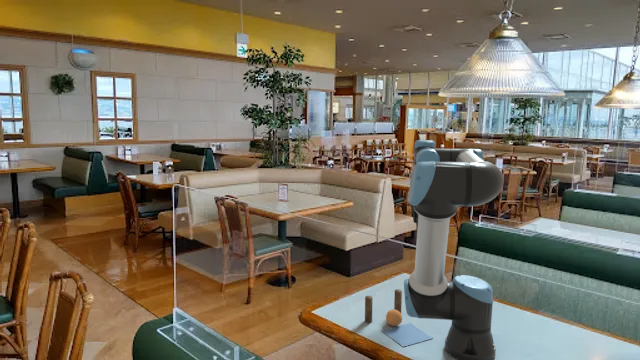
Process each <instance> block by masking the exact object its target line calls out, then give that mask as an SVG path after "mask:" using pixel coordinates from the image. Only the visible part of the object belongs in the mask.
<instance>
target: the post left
mask: <svg viewBox="0 0 640 360" xmlns="http://www.w3.org/2000/svg"><path fill="white" fill-rule="evenodd" d="M373 297H374V296H373V295H365V297H364V322H365V323H367V324H370V323H372V322H373Z"/></svg>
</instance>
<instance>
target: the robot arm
mask: <svg viewBox="0 0 640 360" xmlns="http://www.w3.org/2000/svg"><path fill="white" fill-rule="evenodd" d="M413 151H414V152H413V153H414V155H413V158H414V159H413V169H412V170H411V174H410V179H409V180H410V181H409V188H408V204H409V205H411V211H412V221H413V223H414V224H416V247H415V258H414V259H415V262H414V270H413V271H412V272H411V273H410V275H409V278H405V279H404V280H403V289H404V290H403V293H404V303H405V311H406V314H407V316H409V317H411V318H417V319H429V320H447V321H451V324H450V327H449V329H448V333H447V335H446V337H445V339H444V349H445V352H446V353H447V354H448V355H450V357H452V358H453V359H455V360H494V359H495V358H496V344H495V342H494V337H493V334H492V319H493V317H492V316H493V304H494V294H493V293H494V289H493V287H492V286H491V284H490V283H488V282H487V281H485V280H484V279H481V278H479V277H476V276H472V275H468V274H467V275H466V274H460V275H456V276H455V277H454V278H453V279H452V281H451V280H448V278H447V277H446V275H445V268H446V260H447V259H446V258H447V249H448V240H449V231H450V224H451V218H452V217H454V216H455V215H456V214H457V212H458V207H477V206H482V205H485V204H487V203H489V202H491V201H493V200H494V199H496V197H497V196H499V194H500V193H501V191H502V189H503V187H504V183H505V180H504V179H505V178H504V174H503V172H502V170H501V169H500V168H499V167H498V166H497V165H495V164H494V163H493V162H489V161H485V160H484V154H483V151H482V150H481V149H479V148H438V147H437V148H436V142H435V141H434V140H431V139H429V140H428V139H418V140H415V142H414V148H413Z"/></svg>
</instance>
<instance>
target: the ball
mask: <svg viewBox="0 0 640 360" xmlns="http://www.w3.org/2000/svg"><path fill="white" fill-rule="evenodd" d="M385 319H386V322H387V324H388V325H390V326H392V327H396V326H400V325H401V324H402V321H403V315H402V312H401V313H400V312H399V311H398V310H395V309H390V310H388V311H387V313H386V315H385Z"/></svg>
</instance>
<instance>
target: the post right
mask: <svg viewBox="0 0 640 360" xmlns="http://www.w3.org/2000/svg"><path fill="white" fill-rule="evenodd" d="M402 294H403V290H402V289H394V306H393V308H394V309H395V310H398V311H399V312H400V313H401V314H402V302H403V301H402V299H403V298H402V297H403V296H402Z"/></svg>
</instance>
